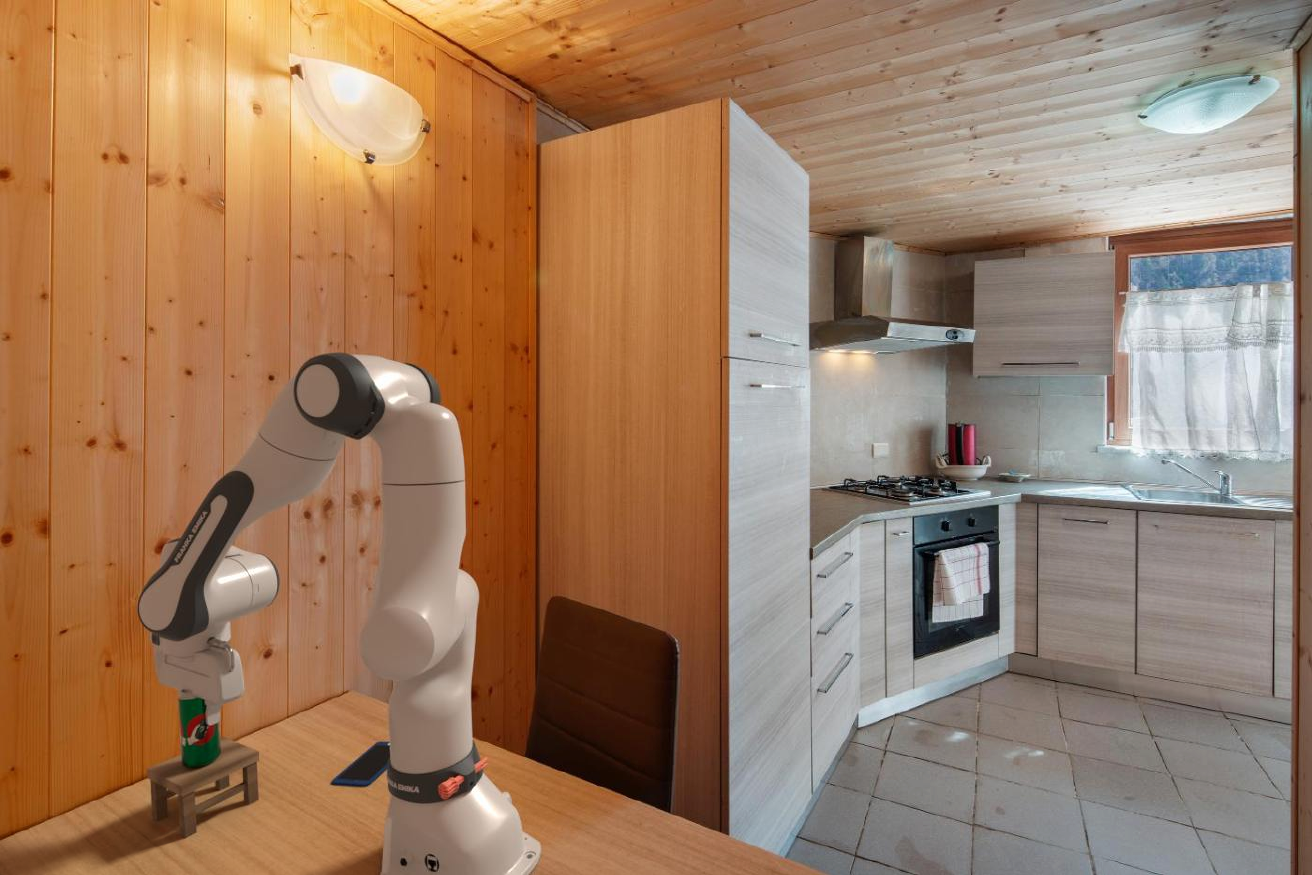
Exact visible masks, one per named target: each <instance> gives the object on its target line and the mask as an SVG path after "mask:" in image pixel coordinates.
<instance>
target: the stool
mask: <svg viewBox="0 0 1312 875" xmlns="http://www.w3.org/2000/svg"><path fill="white" fill-rule="evenodd" d="M220 744H221V754H220V756H219V757H218V758H217V759H216V760H215V761H214V762H212V763H210V764H208V765H205V766H202V767H198V768H186V767H184V766H183V765H182V756H181V754H180V755H176V756H175V757H172V758H169V759H167V760H164V761H162V762H160V763H158V764H156V765H153V766H150V767H148V768H147V769H146V773H147V774H146V775H147V776H146V777H147V779H148V780H149V781H150V797H151V816H152V819H153V820H155V821H156V822H157V821H160V820H162V819H163V818H166V817H168V816H169V809H168V808H169V807H168V806H169V805H168V799H170V798H172V797H175V796H177V795H178V797H177V798H178V813H179V815H178V816H179V817H178V818H179V832H180V836H181V837H183V838H184V839H185V838H188V837H189V836H190V837H191V836H192V835H193V834H195V833H197V831H198V830H197V828H198V827H197V815H198V814H200V813H202V812H204V811H206V810H208V809H210V808H211V807H214V806H216V805H218V804H220V803H222V802H224V801H226V800H228V799H230V798H232V797H234V796H236V795H238V794H240V793H242V792H243V803H245V804H247V805H251V804H253V803H254V802H256V801H258V800H259V797H260V796H259V781H258V780H259V779H258V778H259V777H258V762H259V761H260V754H259V753H260V752H259V750H256V749H253V748H252V747H249V746H246V745H244V744H242V743H239V742H238V741H234V740H232V739H231V738H227V737H224V736H222V737H220ZM240 770H242V771H241V772H242V782H239V784H237V785H235V786H232V787H230V775H231V774H233V773H235V772H238V771H240ZM212 783H214V785H215V786H214V787H215V789H217V790H219V791H222V790H223V789H226V788H227V787H230V788H228V789H226V790H224V791H222V792H220V793H218V794H216V795H213V796H212V797H210V798H208V799H205V800H203V801H201V802H200V803H198V804H196V794H195V792H196V791H197V790H199V789H202V788H203V787H206V786H208V785H210V784H212Z"/></svg>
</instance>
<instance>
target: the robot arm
mask: <svg viewBox="0 0 1312 875" xmlns="http://www.w3.org/2000/svg"><path fill="white" fill-rule="evenodd" d="M441 400H442V395H441V389H440V386H439V383H438V382H437V380H436V378H435V376H433V375H432V374H431V373H430V372H429V371H427V370H425V369H424V368H422V367H420V366H418V365H415V364H412V363H409V362H399V361H396V360H392V359H388V358H385V357H382V356H379V355H371V354H370V355H368V354H350V353H346V352H340V351H339V352H329V353H323V354H319V355H315V356H313V357H310V358H309V359H307V361H305V362H304V363H303V364H302V365H301V366H300V368H299V369H298V371H297V373H296V374H295V375H293V376H292V377H290V378H289V380H287V382H286V383H285V384H284V386H283V387H282V389H281V390H280V392H279V393H278V395H277V396H276V397H275V400H274V401H273V403H272V404H271V405H270V407H269V409H268V411H267V413H266V414H265V417H264V419H263V420H262V423H261V425H260V428H259V430H258V432H257V434H256V437H255V438H254V440H253V442H251V445H250V446H249V448H248V449H247V451H245V453H244V455H243V456H242V457H241V458H240V459H239V461H237V463H236V464H235V465H234V466H233V467H232V468H231V469H230V470H229V471H228V472H227V473H225V474H224V475H223V476H222V477H221V478H220V479H219V480H217V482H216V483H214V485H213V486H212V487H211V489H210V490H209V492H208V493H207V494H206V496H205V497H204V499H203V500H202V502H201V503H200V505H199V507H198V508H197V510H196V512H195V513H194V515H193V517H192V518H191V519H190V522H189V523H188V525H187V526H186V528H185V530H184V531H183V533H182V535H181V536H180V537H177V538H175V539H171V540H169V541H168V542H167V543H165V544H164V546H163V548H162V550H161V554H160V559H159V560H160V561H159V569H158V570H156V571H155V572H154V574H152V575H151V577H150V578H149V579H148V581H147V582H146V583H145V585H144V586H143V588H142V590H141V592H140V595H139V598H138V601H137V616H138V618H139V622H140V623H141V625H142V626H143V627H144V628H145V629H146V630H147V631H149V641H150V643H151V645H153V646H154V648H153V656H154V657H153V658H154V665H155V666H154V667H155V672H156V676H157V680H158V681H159V683H160V685H163V686H166V687H169V688H172V689H173V690H177V695H178V697H179V696H180V694H181V690H182V689H183V691H184V690H187V691H190V692H192V693H193V695H194V696H196V697H199V698H201V699H204V700H205V705H207V708H206V713H204V714H203V715H204V723H205V724H207V725H213V724H216V723H218V722H219V723H220V721H221V710H222V708H223V705H225V704H228V703H231V702H234V701H236V700H238V699H240V698H242V697H243V695H244V693H245V680H244V672H243V665H242V660H241V657H240V654H239V652H238V651H237V650H236V649H235V648H232V647H231V643H230V642H229V641H230V640H231V639H232V634H231V632H232V631H231V622H233V621H235V620H237V619H240V618H243V617H245V616H248V615H251V614H254V613H256V612H258V611H261V610H263V609H265V608H267V607H269V606H270V605H272V604H273V602H274V601H275V599H277V598H276V597H277V596H278V594H279V590H280V583H281V581H280V580H281V579H280V573H279V571H278V568H277V566H276V564H275V562H273V560H272V559H271V558H270V557H268V556H266V555H265V554H262V553H258V552H250V551H247V550H244V549H241V548H239V547H237V546H234V543H235V541H236V539H237V538H238V537H239V536H240V534H241V533H242V532H243V531H244V530H246V528H248V527H249V526H250V525H252V524H253V523H254V522H256V521H258V520H259V519H261V518H263V517H264V516H267V515H268V514H271V513H273V512H275V511H278V510H279V509H281V508H283V507H286V506H289V505H291V504H293V503H295V502H298V501H302V500H304V499H306V498H308V497H309V496H311V495H313V494H314V493H315V492H316V491H318V490H319V489H320V487H321V486H322V485H323V484H324V483H325V481H326V480H328V477H329V476H330V474H331V472H332V471H333V468H334V466H335V464H336V462H337V461H338V457H339V455H340V453H341V451H342V448H343V445H344V444H345V442H346V439H347V438H350V439H353V440H357V441H359V440H361V439H363V438H365V437H366V436H367V437H369V438H370V439H372V440H373V441H374V442H375V444H376V445H377V446H378V448H379V452H380V460H381V543H380V544H381V545H380V551H379V557H378V563H377V568H376V573H375V579H374V584H373V591H372V596H371V600H370V601H371V602H370V607H369V611H368V614H367V617H366V620H365V622H364V624H363V627H362V629H361V631H360V635H359V640H358V648H359V653H360V657H361V659H362V661H363V663H364V665H365V667H367V668H368V669H369V671H370V672H371V673H372V674H373V675H375V676H377V677H379V678H381V679H383V680H385V681H386V680H387V681H391V682H393V687H392V691H391V694H390V697H389V701H388V708H387V711H388V712H387V713H388V734H389V735H388V736H389V738H388V739H389V740H388V742H390V757H389V759H388V763H387V770H386V780H387V790H388V792H389V793H390V797H389V798H390V799H389V802H388V809H387V812H386V816H385V821H384V830H383V843H382V844H383V845H382V859H381V871H380V874H379V875H530V874H531V873H532V871H533V870H534V869H535V867H536V866H537V864H538V862H539V859H540V857H541V854H542V847H541V842H540V841H539V840H537V839H535V838H534V837H532V836H530V834H528V833H526V832H525V831H523V826H522V821H521V818H520V813H519V812H518V809H517V808H516V807H515V806H514V805H513V799H512V797H511V794H510V793H509V792H508V791H502V792H501V790H500V789H498V787H497V786H496V785H495V784H494V783H493V782H492V781H491V780H490V779H489V777H488V776H487V775H486V774H485V773H484V768H485V767H487V766H488V765H489V763H488V762H486V761H487V760H488V759H489V758H488V757H487V756H486V757H484V758H482V759H481V757H480V753H479V749H478V748H477V746H476V742H475V741H474V739H473V720H472V719H473V718H472V716H473V715H472V680H473V679H472V678H473V669H474V662H475V661H474V659H475V648H476V637H477V636H476V634H477V633H476V632H477V618H478V608H479V603H480V592H479V588H478V585H477V582H476V580H474V577H472V576H471V575H470V574H469V573H468V572H467V571H465V570H463V569H460V564H461V557H462V551H463V547H464V542H465V540H466V534H467V526H466V525H467V524H466V523H467V520H466V519H467V516H466V473H465V472H466V470H465V457H464V449H463V441H462V436H461V432H460V427H459V423H458V420H457V417H456V416H455V414H454V413H453V412H452V411H451V410H450V409H449V408H447V407H445V406H444V405H443V406H442V404H441V402H442V401H441ZM485 762H486V763H485Z"/></svg>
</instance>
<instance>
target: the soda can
mask: <svg viewBox="0 0 1312 875" xmlns="http://www.w3.org/2000/svg"><path fill="white" fill-rule="evenodd" d="M177 704H178V720H179V738H180V740H179V741H180V752H181V754H180V755H181V756H182V765H183V766H184V767H186V768H198V767H202V766H205V765H208V764H210V763H212V762H214V761H215V760H216V759H217V758H218V757H219V756H220V754H221V744H220V738H221V731H220V730H221V729H220V721H219V722H218V723H216V724H213V725H207V724H205V723H204V715H203V714H204V713H206V708H207V705H205V700H204V699H201V698H199V697H196V696H194V695H193V693H192V692H190V691H187V690H184V691H183V689H182V690H181V694H180V696H178V698H177Z"/></svg>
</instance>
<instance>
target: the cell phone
mask: <svg viewBox="0 0 1312 875" xmlns="http://www.w3.org/2000/svg"><path fill="white" fill-rule="evenodd" d="M389 757H390V741H377V742H375V743H374V744H372V746H371V747H369V748H368V749H367V750H365V752H363V753H362V754H361V755H360V756H359V757H358V758H356V759H355V760H354V761H352V762H351V764H349V765H348V766H347V767H346V768H344V769H343V770H342V771H341V772H339V774H337V776H335V777H334V778H333V779H332V780H331V782H330V784H331V785H333V786H340V787H341V786H342V787H360V788H367V787H369V786H371V785H372V784H373V783H374V782H376V781H377V780H378V779H379V777H381V776H382V775H383V774H384V773H385V772H387V763H388V759H389Z"/></svg>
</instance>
